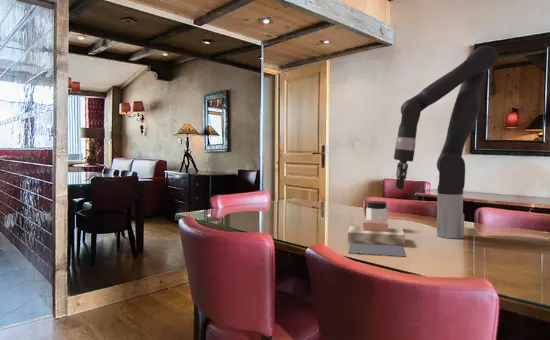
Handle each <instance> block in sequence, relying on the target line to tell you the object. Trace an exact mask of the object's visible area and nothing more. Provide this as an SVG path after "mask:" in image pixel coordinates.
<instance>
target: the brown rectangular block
mask: <svg viewBox="0 0 550 340" xmlns="http://www.w3.org/2000/svg"><path fill="white" fill-rule="evenodd" d="M362 225H363V226H362V227H363V230H365V231H387V232H388V228H389V222H388V220H387V221H379V220H366V219H363V223H362Z"/></svg>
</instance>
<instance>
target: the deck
mask: <svg viewBox="0 0 550 340" xmlns="http://www.w3.org/2000/svg"><path fill="white" fill-rule="evenodd" d="M348 227H349V228H348V229H347V244H350V243H365V244H383V245H401V246H402V247H405V242H406V241H405V239H406V238H405V236H406V235H405V233H404V230H403V228H401V227H400V228H399V227H398V228H395V227H388V232H387V231H365V230H363V226H354V225H353V226H350V225H349V226H348Z"/></svg>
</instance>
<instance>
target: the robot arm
mask: <svg viewBox="0 0 550 340" xmlns="http://www.w3.org/2000/svg"><path fill="white" fill-rule="evenodd" d="M498 58H499V54H498V51H497V49H496V48H495V47H493V46H490V45H482V46H479V47H477V48H476V49H474V50H473V51H472V52H470V53H469V55H468V56H467V58H466V59H465V60H464V61H462V62H461V63H460V64H459V65H457V66H456V67H455V68H454V69H452V70H451V71H449V72H447V73H446V74H444V75H443V76H441V77H440V78H438V79H436V80H434V81H433V82H431V83H430V84H429V85H428V86H426V87H425V88H423V89H422V90H421V91H420V92H418V93H417V94H416V95H414V96H412V97H411V98H409V99H407V100H406V101H404V102H403V104H402V105H401V107H400V113H401V118H400V119H401V120H400V124H399V126H398V131H397V137H396V141H395V148H394V153H393V156H394V157H393V159H394V160H395V161H399V162H398V163H397V164H396V173H395V174H396V176H395V177H396V182H395V188H397V189H398V190H404V187H405V181H406V179H407V174H408V169H409V164H408V162H410V163H411V162H413V161H414V159H415V158H414V157H415V149H416V138H417V132H418V131H417V130H418V123H419V121H420V117H421V113H422V111H424V110H425V109H426V108H428V107H429V106H432V105H433V104H435V103H436V102H438V101H440V100H441V99H443V98H444V97H445V96H447V95H448V94H450V93H451V92H452V91H453V90H455V89H456V88H457V87H459V86H460V87H459V91H458V94H457V96H456V98H455V102H454V104H453V108H452V112H451V115H450V119H449V122H448V127H447V132H446V138H445V141H444V144H443V146H442V149H441V151H440V153H439V157H438V159H437V161H436V168H437V169H436V170H437V171H438V173H439V174H438V184H437V195H436V196H437V198H436V199H437V202H436V203H437V204H436V206H437V207H436V208H437V209H436V212H437V213H436V236H438V237H439V238H440V237H441V238H446V239H465V213H464V211H463V209H464V189H465V184H466V183H465V181H466V163H465V162H466V161H465V160H464V158H463V152H464V147H465V145H466V142H467V141H468V138H469V137H470V135H471V133H472V131H473V129H474V128H475V125H476V123H477V120H478V116H479V113H480V109H481V103H482V101H481V97H482V96H481V91H482V90H481V89H482V85H483V81H484V79H485V76H486V74H487V72H488V71H489V70H490V69H492V68H494V66H495V65H496V64H497V62H498Z"/></svg>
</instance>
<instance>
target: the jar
mask: <svg viewBox="0 0 550 340" xmlns="http://www.w3.org/2000/svg"><path fill="white" fill-rule="evenodd" d="M366 202H367V203H366V204H367V207H366V209H365V210H366V213H365V216H366V217H365V218H366V219H365V220H379V221H387V222H388V207H387V202H386V201H385V200H368V201H366Z"/></svg>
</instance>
